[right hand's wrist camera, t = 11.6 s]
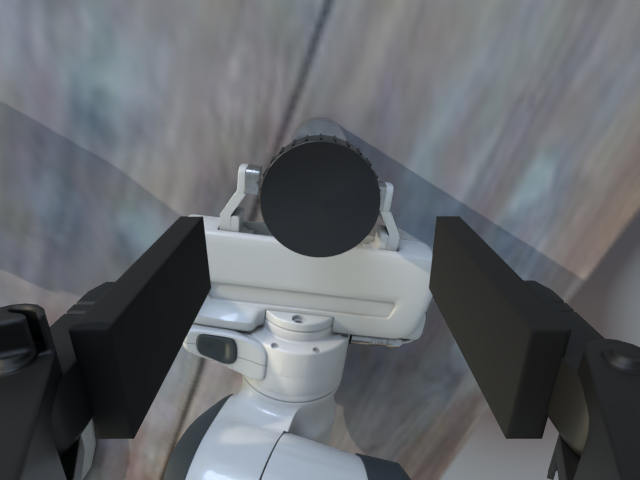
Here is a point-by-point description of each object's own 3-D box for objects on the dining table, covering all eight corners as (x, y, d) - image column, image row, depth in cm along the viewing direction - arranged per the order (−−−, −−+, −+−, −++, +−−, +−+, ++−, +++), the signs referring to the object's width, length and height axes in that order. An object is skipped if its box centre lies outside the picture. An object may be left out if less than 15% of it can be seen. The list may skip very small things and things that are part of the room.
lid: (393, 154, 21) (401, 162, 19) (354, 256, 23) (357, 272, 21) (280, 117, 20) (276, 121, 18) (251, 226, 22) (244, 240, 20)
